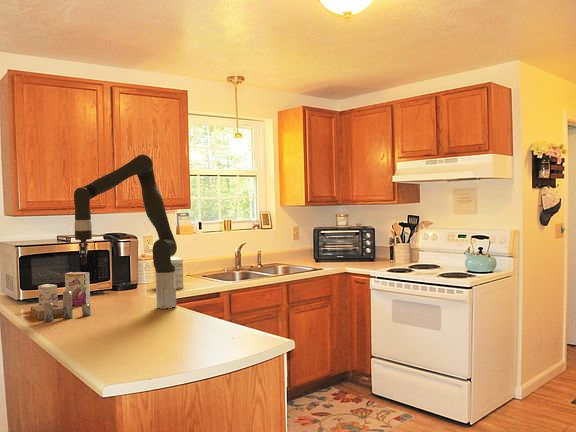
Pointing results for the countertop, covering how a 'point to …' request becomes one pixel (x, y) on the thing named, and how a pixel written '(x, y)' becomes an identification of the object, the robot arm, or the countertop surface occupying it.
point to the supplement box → (178, 271)
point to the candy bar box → (78, 287)
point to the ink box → (47, 294)
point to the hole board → (39, 311)
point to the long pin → (67, 304)
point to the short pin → (86, 310)
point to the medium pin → (48, 312)
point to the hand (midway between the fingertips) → (83, 263)
